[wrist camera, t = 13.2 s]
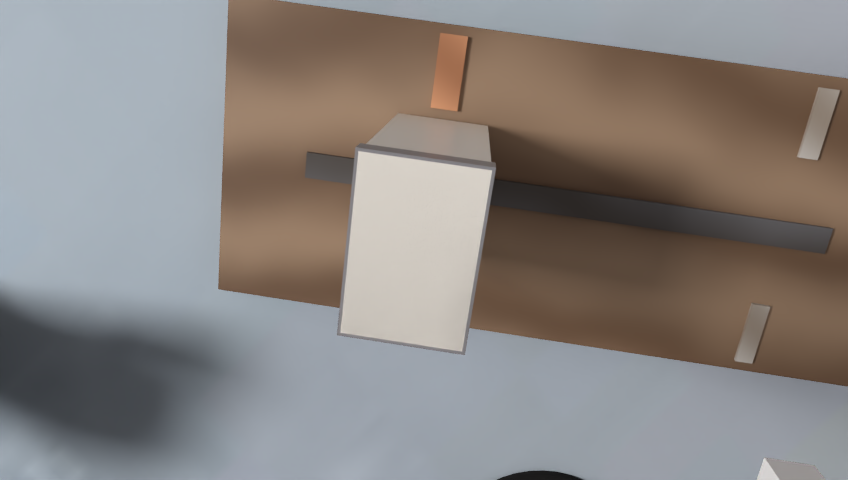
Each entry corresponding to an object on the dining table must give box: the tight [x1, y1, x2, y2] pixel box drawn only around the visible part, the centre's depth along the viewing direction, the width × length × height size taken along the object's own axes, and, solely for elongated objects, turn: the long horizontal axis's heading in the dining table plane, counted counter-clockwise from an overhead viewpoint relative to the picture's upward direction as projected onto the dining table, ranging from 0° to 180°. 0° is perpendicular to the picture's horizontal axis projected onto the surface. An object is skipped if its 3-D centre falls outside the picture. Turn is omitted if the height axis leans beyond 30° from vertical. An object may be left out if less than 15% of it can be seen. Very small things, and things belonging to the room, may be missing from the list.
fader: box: [337, 113, 496, 355], centre depth 25 cm, size 6×4×10 cm
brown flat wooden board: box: [218, 0, 848, 386], centre depth 31 cm, size 14×32×2 cm, turn 83°
